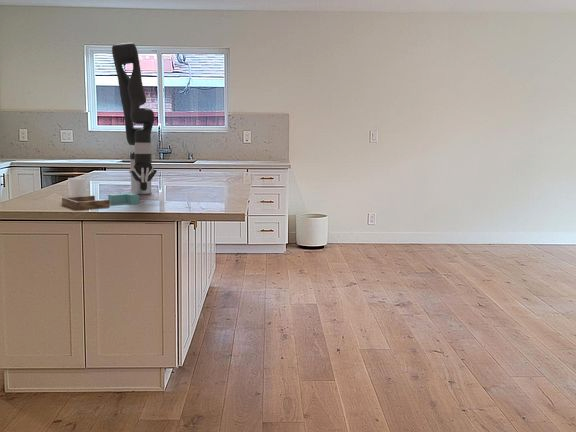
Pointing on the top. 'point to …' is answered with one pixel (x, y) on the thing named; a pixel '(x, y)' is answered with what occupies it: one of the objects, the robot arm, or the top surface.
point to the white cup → (77, 187)
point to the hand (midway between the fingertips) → (143, 190)
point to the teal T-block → (123, 198)
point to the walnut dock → (84, 202)
